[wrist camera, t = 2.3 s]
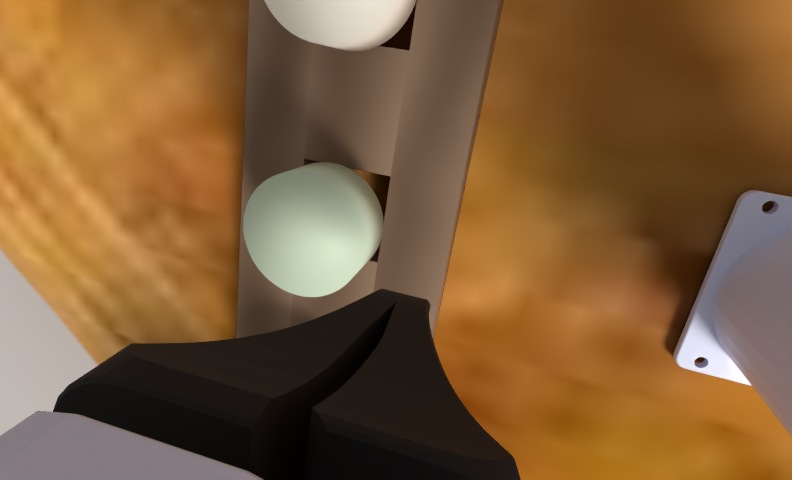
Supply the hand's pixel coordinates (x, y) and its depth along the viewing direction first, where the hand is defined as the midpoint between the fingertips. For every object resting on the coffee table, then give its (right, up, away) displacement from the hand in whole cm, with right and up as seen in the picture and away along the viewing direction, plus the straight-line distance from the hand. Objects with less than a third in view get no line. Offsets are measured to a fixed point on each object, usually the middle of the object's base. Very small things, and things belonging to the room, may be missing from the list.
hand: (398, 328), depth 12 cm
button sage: (-2, +4, +9) cm, 10 cm away
